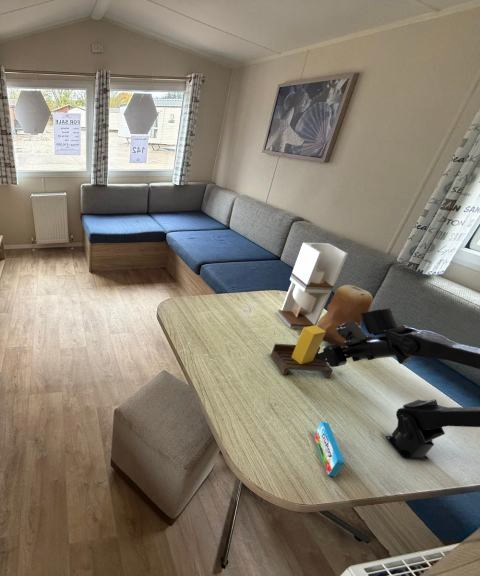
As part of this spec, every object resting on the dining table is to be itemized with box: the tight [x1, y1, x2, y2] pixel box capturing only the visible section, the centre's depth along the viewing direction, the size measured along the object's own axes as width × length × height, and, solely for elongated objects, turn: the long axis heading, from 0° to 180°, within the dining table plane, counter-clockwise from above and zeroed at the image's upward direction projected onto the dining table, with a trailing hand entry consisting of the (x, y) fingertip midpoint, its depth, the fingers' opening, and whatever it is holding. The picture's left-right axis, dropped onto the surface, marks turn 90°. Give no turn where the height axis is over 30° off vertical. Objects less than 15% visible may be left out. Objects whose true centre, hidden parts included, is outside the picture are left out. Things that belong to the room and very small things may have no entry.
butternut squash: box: [316, 284, 373, 347], centre depth 119 cm, size 14×13×25 cm
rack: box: [270, 343, 334, 379], centre depth 111 cm, size 10×16×6 cm, turn 86°
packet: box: [291, 325, 326, 364], centre depth 107 cm, size 4×6×13 cm
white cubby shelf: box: [277, 241, 349, 329], centre depth 130 cm, size 11×11×35 cm
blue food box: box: [313, 420, 345, 478], centre depth 80 cm, size 12×2×6 cm, turn 163°
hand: (325, 353), depth 102 cm, fingers open, 9 cm apart
